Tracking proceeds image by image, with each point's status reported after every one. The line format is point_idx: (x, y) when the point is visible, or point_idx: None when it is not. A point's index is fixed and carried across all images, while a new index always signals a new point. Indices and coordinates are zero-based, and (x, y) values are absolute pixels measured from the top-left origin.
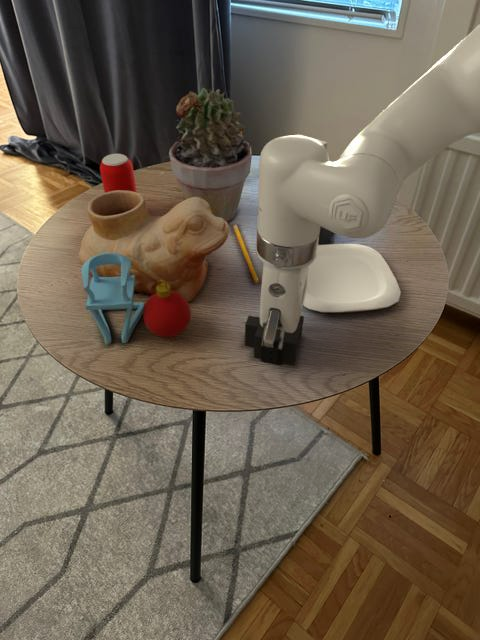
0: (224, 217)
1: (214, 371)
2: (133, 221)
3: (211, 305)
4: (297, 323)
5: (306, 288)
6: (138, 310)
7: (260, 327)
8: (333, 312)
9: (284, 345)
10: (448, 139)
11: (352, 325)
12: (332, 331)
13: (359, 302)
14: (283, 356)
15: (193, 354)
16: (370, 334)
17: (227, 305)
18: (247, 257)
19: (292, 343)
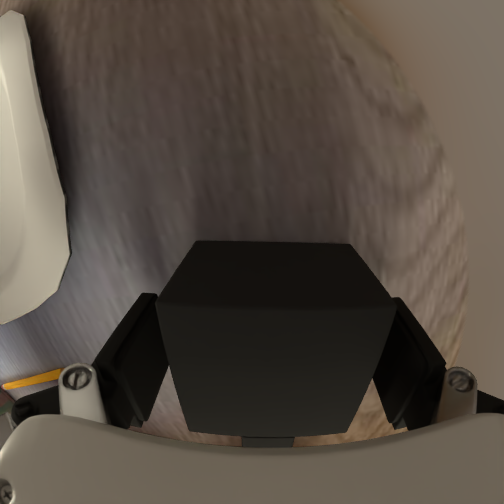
0: (7, 404)
1: (373, 405)
2: None
3: (177, 437)
4: (478, 445)
5: (26, 429)
6: None
7: (297, 432)
8: (54, 152)
9: (439, 366)
10: None
11: (87, 76)
12: (127, 130)
13: (9, 88)
14: (419, 324)
15: (327, 438)
16: (118, 14)
17: (161, 418)
18: (32, 383)
19: (391, 325)
